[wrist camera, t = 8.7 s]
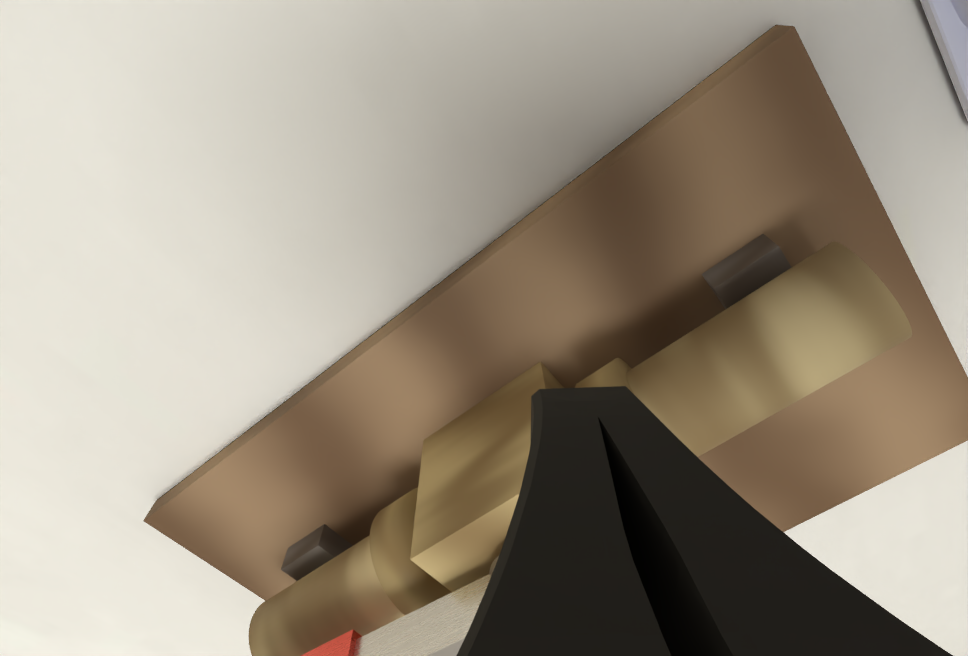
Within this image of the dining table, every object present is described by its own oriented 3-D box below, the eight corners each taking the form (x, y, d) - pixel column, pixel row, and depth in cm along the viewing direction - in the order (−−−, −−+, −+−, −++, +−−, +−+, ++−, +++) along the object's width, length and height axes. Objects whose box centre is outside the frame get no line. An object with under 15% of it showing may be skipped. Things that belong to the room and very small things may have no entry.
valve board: (775, 25, 15) (933, 36, 10) (971, 410, 22) (1132, 542, 16) (155, 500, 23) (61, 649, 18) (431, 686, 29) (421, 838, 24)
